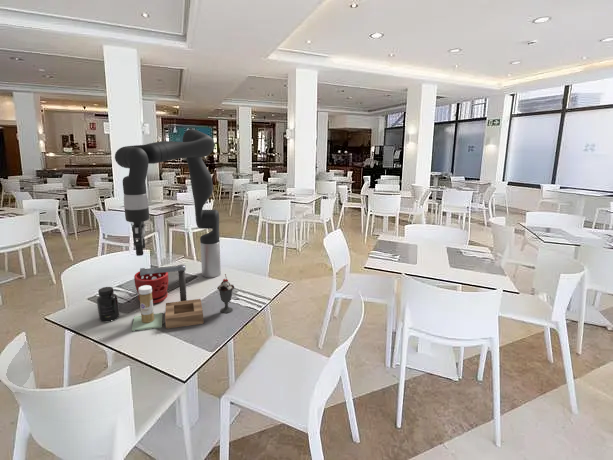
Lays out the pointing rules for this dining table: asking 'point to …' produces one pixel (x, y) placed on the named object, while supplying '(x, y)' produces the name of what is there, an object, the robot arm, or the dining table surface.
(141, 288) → the sprinkles bottle
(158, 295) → the plant pot
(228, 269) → the dining table surface
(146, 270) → the bar
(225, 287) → the sundae
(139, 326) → the green mat
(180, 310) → the walnut dock
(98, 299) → the supplement bottle
